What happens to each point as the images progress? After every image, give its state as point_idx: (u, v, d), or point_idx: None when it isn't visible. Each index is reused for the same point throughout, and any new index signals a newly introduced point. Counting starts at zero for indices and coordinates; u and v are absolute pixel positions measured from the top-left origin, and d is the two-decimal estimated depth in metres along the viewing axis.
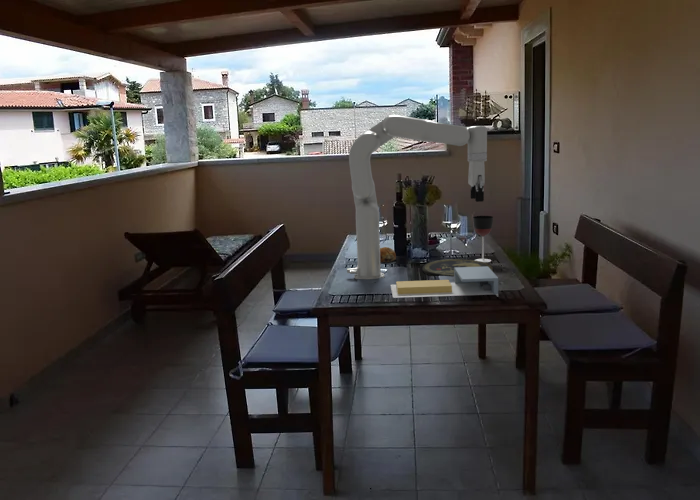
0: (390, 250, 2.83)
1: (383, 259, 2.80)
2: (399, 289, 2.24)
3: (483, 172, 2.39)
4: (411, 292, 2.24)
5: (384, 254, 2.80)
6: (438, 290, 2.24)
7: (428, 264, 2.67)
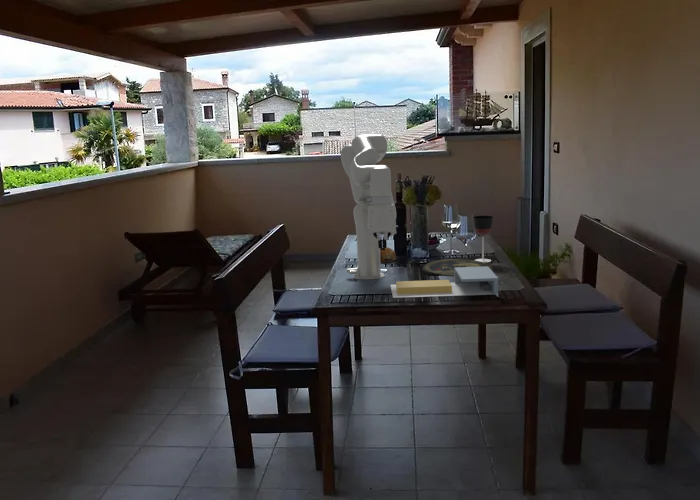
0: (390, 250, 2.83)
1: (383, 259, 2.80)
2: (399, 289, 2.24)
3: None
4: (411, 292, 2.24)
5: (384, 254, 2.80)
6: (438, 290, 2.24)
7: (428, 264, 2.67)
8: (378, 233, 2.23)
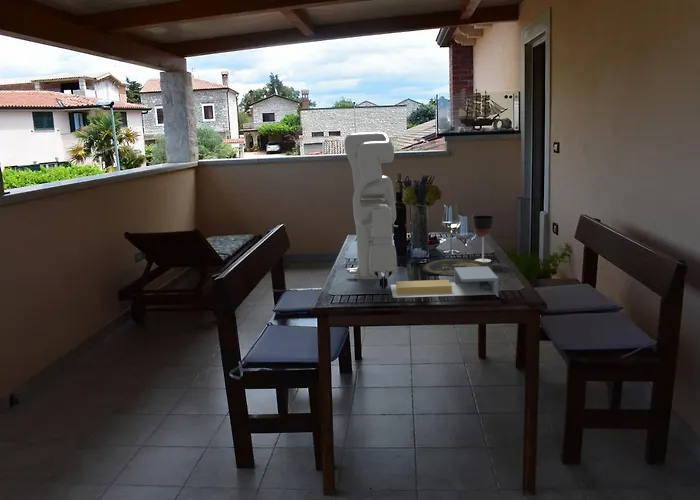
0: None
1: None
2: (399, 289, 2.24)
3: None
4: (411, 292, 2.24)
5: None
6: (438, 290, 2.24)
7: (428, 264, 2.67)
8: (379, 272, 2.26)
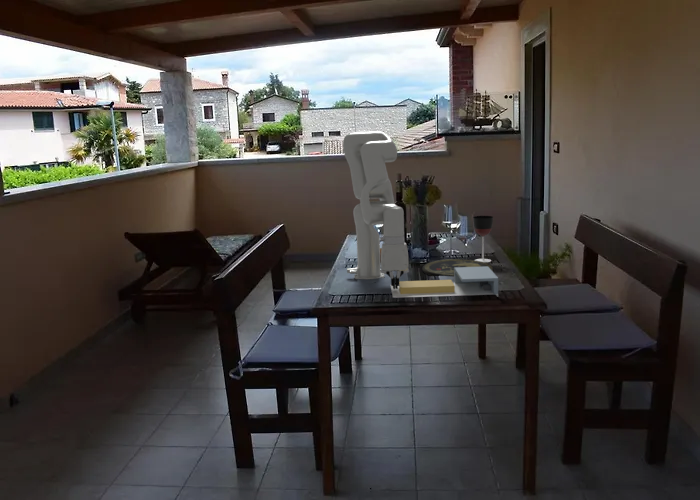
0: None
1: None
2: (402, 289, 2.24)
3: None
4: (413, 292, 2.24)
5: None
6: (441, 290, 2.24)
7: (428, 264, 2.67)
8: (391, 272, 2.26)
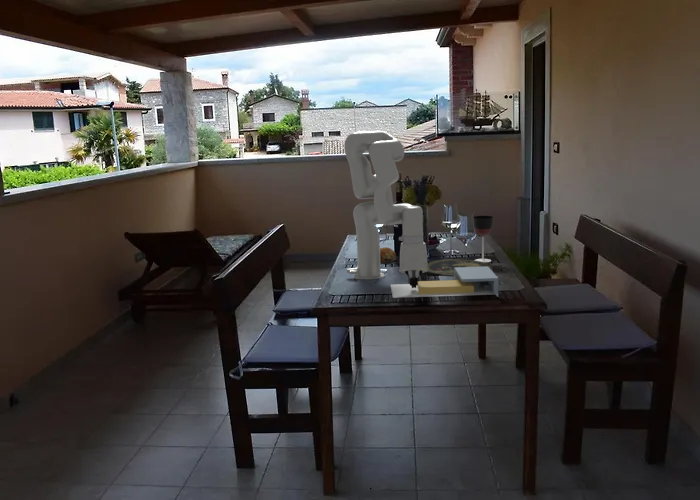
0: (390, 250, 2.83)
1: (383, 259, 2.79)
2: (421, 289, 2.23)
3: None
4: (432, 291, 2.23)
5: (384, 254, 2.80)
6: (460, 290, 2.23)
7: (428, 264, 2.67)
8: (410, 271, 2.26)
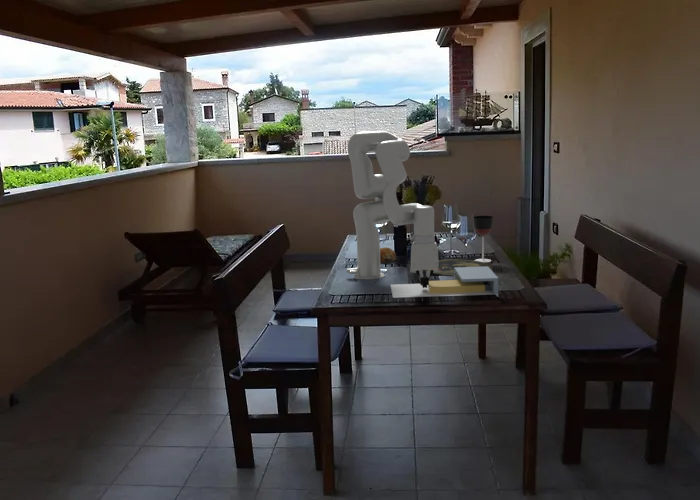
0: (390, 250, 2.82)
1: (383, 259, 2.79)
2: (432, 288, 2.23)
3: None
4: (443, 291, 2.23)
5: (384, 254, 2.79)
6: (471, 290, 2.23)
7: None
8: (421, 271, 2.26)
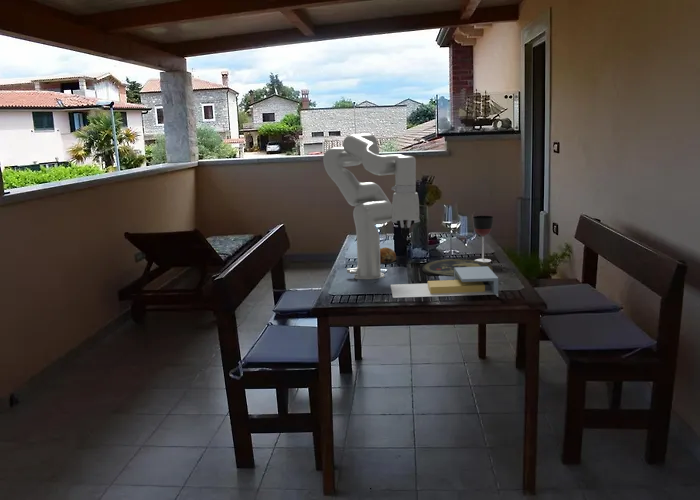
0: (390, 250, 2.82)
1: (383, 259, 2.79)
2: (432, 288, 2.23)
3: None
4: (443, 291, 2.23)
5: (384, 254, 2.79)
6: (471, 290, 2.23)
7: (428, 264, 2.67)
8: (401, 221, 2.28)
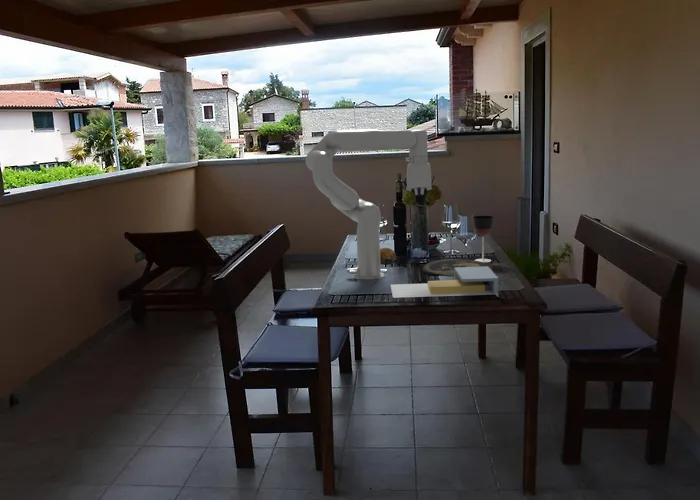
0: (390, 251, 2.82)
1: (383, 260, 2.79)
2: (432, 288, 2.23)
3: None
4: (443, 291, 2.23)
5: (384, 255, 2.79)
6: (471, 290, 2.23)
7: (428, 264, 2.67)
8: (415, 189, 2.53)
